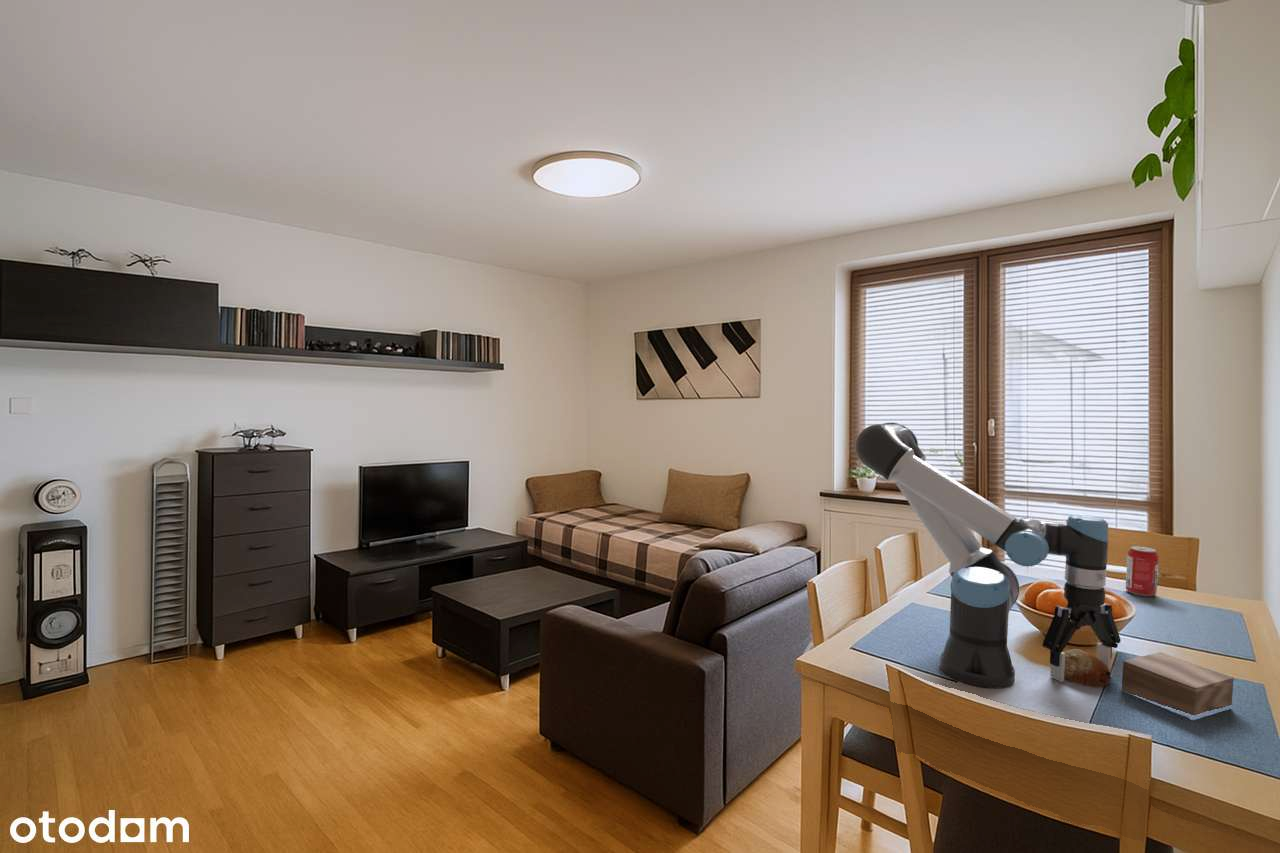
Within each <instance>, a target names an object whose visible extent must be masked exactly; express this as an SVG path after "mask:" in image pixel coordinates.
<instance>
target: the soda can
mask: <svg viewBox="0 0 1280 853" xmlns="http://www.w3.org/2000/svg"><path fill="white" fill-rule="evenodd" d="M1159 560H1160V559H1159V554H1158V553H1157V550H1156V549H1155V548H1151V547H1147V546H1134V545H1133V546H1130V548H1129V550H1127V557H1126V573H1125V574H1126V575H1125V590H1126V591H1127V592H1129V594H1133V595H1136V596H1138V597H1139V596H1140V597H1153V596H1156V595H1157V592H1158V578H1159V577H1158V574H1159Z"/></svg>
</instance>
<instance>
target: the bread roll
mask: <svg viewBox="0 0 1280 853" xmlns="http://www.w3.org/2000/svg"><path fill="white" fill-rule="evenodd" d="M1063 653H1065V670H1064V681H1067V682H1070V683H1073V684H1076V685H1080V686H1085V687H1086V686H1087V687H1093V688H1101V687H1105V686H1107V685H1108V683H1109V682H1110V681H1111V679H1112V677H1111V675H1112V674H1111V670H1110V671H1109V669H1108V666H1107V665H1105V664H1104V663H1103V662H1102V661H1101V660H1100V659H1098V658H1097V657H1096V656H1095V655H1093V654H1091V653H1089V652H1087V651H1085V650H1083V649H1078V648H1074V649H1069V650H1064V652H1063Z"/></svg>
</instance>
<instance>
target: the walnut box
mask: <svg viewBox="0 0 1280 853" xmlns="http://www.w3.org/2000/svg"><path fill="white" fill-rule="evenodd" d="M1123 691H1125V692H1127V693H1126V694H1128V693H1130V694H1133V695H1137V696H1139V697H1142V698H1145V699H1147V700H1150V701H1153V702H1156V703H1158V704H1161V705H1164V706H1168V707H1171V708H1173V709H1176V710H1180V711H1183V712H1185V713H1189V714H1191V715H1197V714H1200V713H1203V712H1206V711H1211V710H1214V709H1219V708H1223V707H1226V706H1230V705H1232V706H1233V694H1234V677H1232V676H1229V675H1227V674H1224V673H1221V672H1218V671H1215V670H1212V669H1210V668H1207V667H1204V666H1201V665H1198V664H1196V663H1192V662H1189V661H1187V660H1184V659H1181V658H1178V657H1174V656H1172V655H1169V654H1166V653H1163V652H1155V653H1151V654H1147V655H1142V656H1139V657H1134V658H1129V659H1126V660H1123V661H1122V680H1121V692H1123ZM1125 692H1124V693H1125ZM1130 694H1129V695H1130Z"/></svg>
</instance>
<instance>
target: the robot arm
mask: <svg viewBox="0 0 1280 853" xmlns="http://www.w3.org/2000/svg"><path fill="white" fill-rule="evenodd" d="M854 447H855V453H856V455H857V458H858V459H859V460H860V462H861V464H863V465H864V466H866V467H867V468H868V469H870V470H871V471H873V472H874V473H876V474H878V475H879V476H881V477H883V479H885V480H886V481H888V482H892V483H894V484H895V485H896V486H897V487H898V489H899V490H900V492H901V493H902V495H903V497H904V498H905V499H906V501H907V502H908V504H909V505H910V506H911V508H912V509H913V511H914V512H915V514H916V515H917V517H918V518H919V521H921V522H922V525H923V526H924V527H925V528H926V530H927V531H928V533H929V534H930V536H931V537H932V539H933V540H934V542H935V543H936V544H937V546H938V548H939V549H940V551H941V552H942V553H943V555H944V556H945V558H946V559H947V560H948V562H949V569H948V573H949V574H950V576H951V581H950V612H949V613H950V614H949V635H948V638H947V640H946V643H945V646H944V649H943V651H942V652H941V654H940V657H939V659H940V660H939V667H940V670H942V672H943V673H944V674H946V675H947V676H949V677H951V679H955V680H957V681H959V682H962V683H965V684H968V685H971V686H976V687H980V688H981V687H982V688H986V689H987V688H988V689H1001V688H1007V687H1011V686H1012V685H1014V683H1015V680H1016V679H1015V677H1016V676H1015V675H1016V670H1015V667H1014V665H1013V662H1012V658H1011V655H1010V651H1009V648H1008V634H1009V631H1008V629H1009V615H1010V611H1011V610H1012V607H1013V606H1014V605H1015V604H1016V602H1017V601H1018V598H1019V594H1020V583H1019V579H1018V577H1017V575H1016V573H1015V572H1014V570H1013V569H1011V568H1010V567H1009V566H1008V565H1007V564H1005V563H1004V562H1001V560H1000V559H999V557H998V556H997V554H996V553H995V552H994V550H993V549H991V548H986V547H984V546H982V545H981V543H980V542H979V540H978V538H976V536H975V534H974V533H977V534H978V535H979V536H981V537H983V538H984V539H986V540H988V542H991V543H992V544H994V545H995V546H996V547H998V548H999V549H1000V550H1003V551H1004V552H1005V554H1006V555H1007V557H1008V558H1009V559H1010V561H1012V562H1013V563H1014V564H1017V565H1018V566H1021V567H1033V566H1036V565H1038V564H1040V563H1042V562H1043V561H1045V559H1047V557H1048V554H1050V555H1056V556H1065V569H1064V580H1065V581H1066V582H1065V583H1064V588H1063V589H1064V591H1063V596H1064V599H1065V600H1066V601H1067V605H1066V606H1065V607H1062V606H1060V605H1056V606H1055V607H1054V613H1053V617H1052V620H1051V621H1050V624H1049V627H1048V629H1047V632H1046V634H1045V636H1044V640H1043V641H1042V647H1043V648H1046V649H1047V650H1049V651H1050V652H1049V663H1050V673H1049V674H1050V676H1049V677H1051V678H1053V679H1055V680H1057V681H1058V682H1061V683H1062V682H1063V683H1064V682H1065V680H1064V670H1065V653H1064V652H1063V651H1065V648H1066V646H1067V645H1068V643H1069V642H1070V640H1071V639H1072V637H1073V636H1074V635H1075V632H1076V631H1078V630H1081V628H1082V627H1086V626H1088V627H1090V628H1091V629H1092V631H1093V632H1094V634H1095V636H1096V637H1097V639H1098V640H1099V641H1100V642H1097V643H1096V656H1095V657H1097V658H1098V659H1100V660H1101V661H1102V662H1103V663H1104V664H1105V665H1107V666H1108V669H1109V671H1110V672H1111V660H1112V656H1113V654H1112V653H1113V648H1114V649H1117V648H1119V647H1118V646H1119V645H1118V644H1120V643H1121V637H1120V634H1119V630H1118V628H1117V625H1116V623H1115V618H1114V615H1113V606H1112V605H1111V604H1109V603H1106V588H1104V587H1105V586H1106V580H1107V567H1108V566H1107V565H1108V564H1107V563H1108V553H1109V552H1108V551H1109V523H1108V521H1107V520H1105V519H1103V518H1101V517H1097V516H1093V515H1080V514H1072V515H1069V516H1068V518H1067V521H1066V522H1058V521H1057V522H1055V521H1048V520H1040V519H1035V518H1034V519H1032V518H1027V517H1015V516H1014V515H1012V514H1011V513H1009V512H1007V511H1005V510H1004V509H1002V508H1001V507H999V506H997V505H996V504H995V503H993V502H991V501H989V500H988V499H986V498H985V497H983V496H982V495H980V494H978V493H976V492H975V491H974V490H972V489H970V488H968V487H967V486H965V485H963V484H962V483H961V482H959V481H957V480H955V479H953V478H952V477H950V476H948V475H947V474H946V473H945V472H943V471H941V470H939V469H938V468H936V467H934V466H933V465H931V464H929V463H928V462H926V459H927V458H926V455H925V454H924V453H923V451H922V450H921V448H920V447H919V442H918V439H917V436H916V434H915V433H914V431H912V430H911V428H909V427H907V426H906V425H904V424H901V423H897V422H885V423H880V424H879V423H877V424H872V425H869V426H867V427H865V428H864V429H862V431H860V432H859V434H858V435H857V438H856V440H855V446H854ZM972 531H974V533H973V532H972Z"/></svg>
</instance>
